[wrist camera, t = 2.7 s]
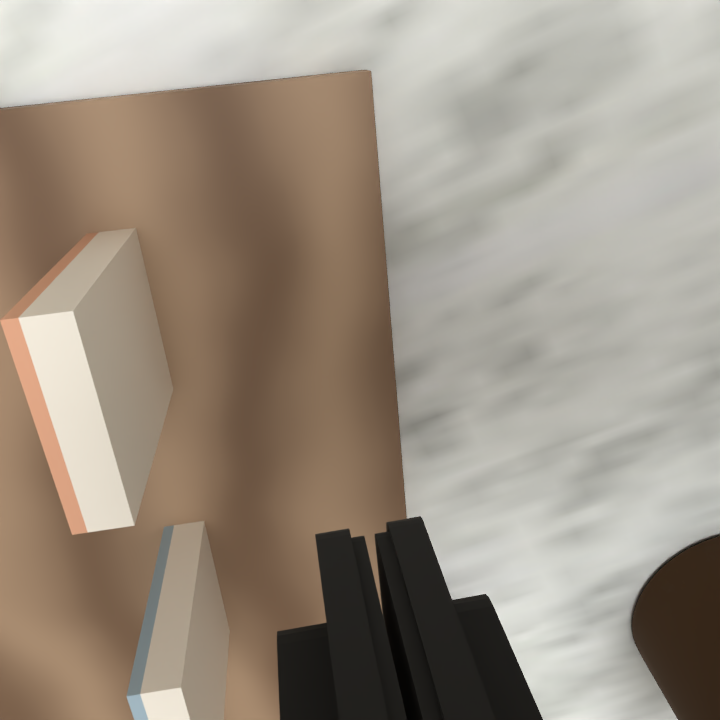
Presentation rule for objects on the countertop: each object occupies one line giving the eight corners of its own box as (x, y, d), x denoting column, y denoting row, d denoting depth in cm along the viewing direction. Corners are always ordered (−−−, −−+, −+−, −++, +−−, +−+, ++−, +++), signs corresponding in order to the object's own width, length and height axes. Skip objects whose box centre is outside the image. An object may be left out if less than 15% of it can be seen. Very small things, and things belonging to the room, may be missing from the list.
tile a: (135, 227, 23) (72, 310, 15) (173, 388, 25) (134, 525, 18) (86, 233, 23) (-1, 320, 15) (129, 395, 25) (72, 534, 18)
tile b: (204, 520, 28) (180, 687, 20) (229, 630, 30) (217, 813, 23) (164, 526, 28) (126, 696, 20) (193, 636, 30) (168, 822, 23)
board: (365, 69, 23) (371, 70, 22) (416, 697, 35) (422, 723, 34) (-403, 150, 21) (-449, 157, 20) (-63, 779, 34) (-77, 809, 32)
